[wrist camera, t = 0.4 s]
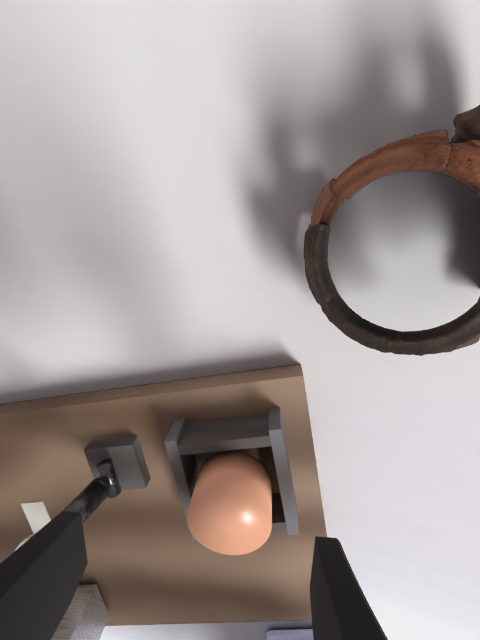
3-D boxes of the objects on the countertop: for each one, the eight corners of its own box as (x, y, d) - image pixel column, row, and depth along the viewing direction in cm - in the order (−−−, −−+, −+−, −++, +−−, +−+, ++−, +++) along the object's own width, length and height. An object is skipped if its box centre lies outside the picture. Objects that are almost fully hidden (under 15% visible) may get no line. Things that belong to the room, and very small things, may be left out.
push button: (276, 509, 18) (277, 552, 16) (206, 514, 18) (197, 557, 16) (264, 447, 17) (264, 483, 15) (190, 454, 17) (178, 491, 15)
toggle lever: (131, 489, 19) (40, 599, 13) (107, 485, 19) (11, 589, 14) (121, 459, 18) (22, 563, 13) (97, 457, 19) (-7, 553, 14)
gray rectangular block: (109, 615, 23) (75, 696, 19) (46, 617, 24) (1, 696, 20) (96, 584, 23) (58, 662, 19) (31, 587, 23) (-18, 663, 19)
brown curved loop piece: (471, 342, 18) (461, 426, 12) (320, 268, 22) (253, 303, 16) (679, 81, 12) (895, -36, 5) (417, 40, 15) (368, -58, 9)
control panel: (334, 595, 23) (345, 657, 20) (44, 606, 26) (11, 661, 23) (300, 364, 19) (307, 394, 15) (-47, 410, 22) (-105, 444, 18)
